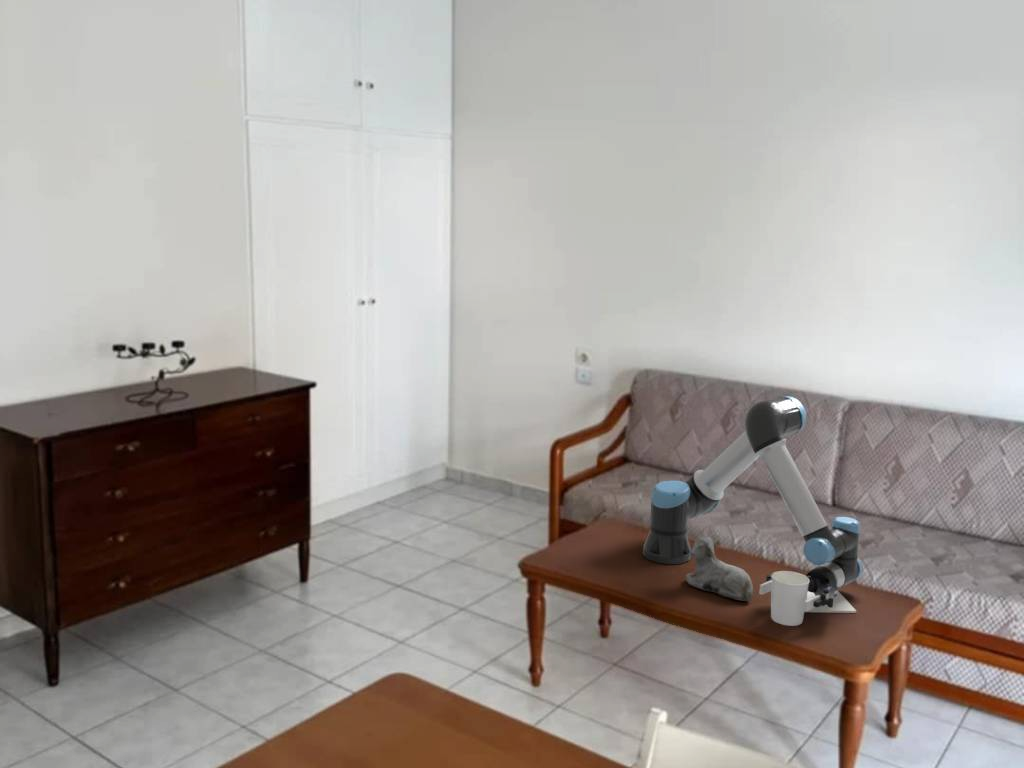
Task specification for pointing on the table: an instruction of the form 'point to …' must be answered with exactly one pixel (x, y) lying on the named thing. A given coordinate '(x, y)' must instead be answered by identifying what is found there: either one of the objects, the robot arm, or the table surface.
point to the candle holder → (788, 597)
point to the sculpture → (718, 573)
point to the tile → (838, 605)
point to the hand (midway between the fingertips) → (782, 598)
